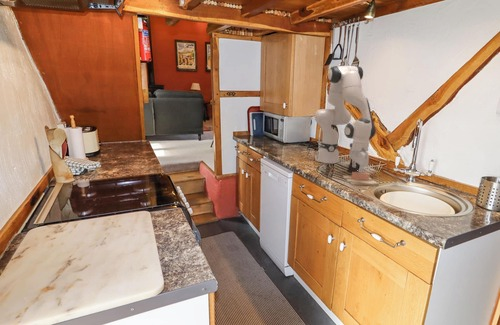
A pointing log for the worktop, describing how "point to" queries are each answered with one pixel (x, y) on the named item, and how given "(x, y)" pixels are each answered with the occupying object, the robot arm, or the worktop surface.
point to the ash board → (360, 181)
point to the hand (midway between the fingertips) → (356, 169)
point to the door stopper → (353, 168)
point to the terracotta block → (360, 176)
